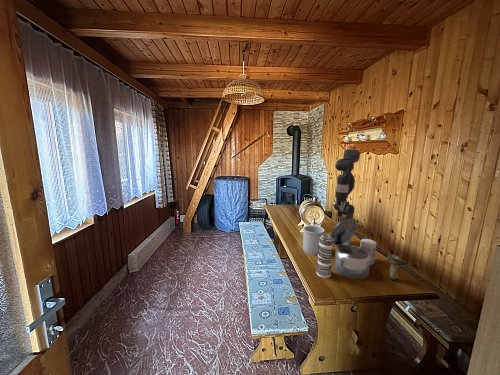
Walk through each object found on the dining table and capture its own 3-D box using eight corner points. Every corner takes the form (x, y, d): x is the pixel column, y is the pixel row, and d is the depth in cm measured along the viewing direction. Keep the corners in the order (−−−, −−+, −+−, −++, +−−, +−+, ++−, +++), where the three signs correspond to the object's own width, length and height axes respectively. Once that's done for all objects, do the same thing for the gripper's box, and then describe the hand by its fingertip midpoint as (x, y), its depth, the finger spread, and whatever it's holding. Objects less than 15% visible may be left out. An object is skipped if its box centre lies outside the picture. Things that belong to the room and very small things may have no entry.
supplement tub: (375, 266, 143) (378, 245, 140) (359, 263, 146) (362, 243, 143) (372, 259, 152) (374, 239, 149) (357, 257, 155) (359, 237, 152)
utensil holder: (323, 256, 155) (325, 233, 151) (302, 254, 158) (303, 231, 154) (321, 247, 169) (323, 226, 166) (301, 245, 172) (303, 224, 168)
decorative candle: (319, 268, 140) (322, 231, 135) (333, 273, 134) (337, 235, 129) (313, 274, 133) (316, 236, 128) (328, 280, 127) (331, 240, 122)
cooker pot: (348, 258, 152) (350, 242, 150) (375, 274, 134) (378, 256, 132) (326, 264, 144) (328, 247, 142) (352, 282, 126) (354, 263, 123)
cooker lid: (351, 242, 150) (347, 239, 153) (362, 213, 140) (358, 210, 143) (327, 247, 142) (324, 244, 144) (338, 217, 132) (334, 214, 134)
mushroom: (380, 275, 133) (383, 252, 130) (393, 275, 133) (397, 252, 130) (391, 285, 123) (395, 261, 120) (406, 284, 124) (410, 260, 121)
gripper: (344, 189, 147) (342, 213, 151) (330, 190, 142) (327, 215, 145) (354, 191, 141) (351, 216, 144) (338, 192, 135) (336, 219, 138)
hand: (339, 216), depth 144 cm, fingers closed
